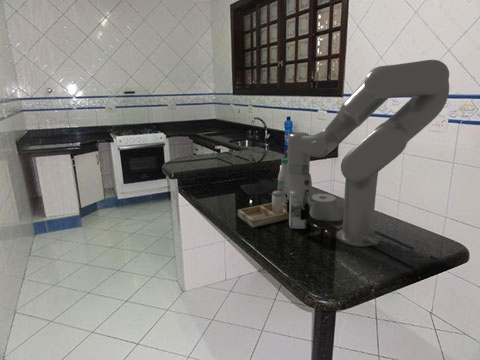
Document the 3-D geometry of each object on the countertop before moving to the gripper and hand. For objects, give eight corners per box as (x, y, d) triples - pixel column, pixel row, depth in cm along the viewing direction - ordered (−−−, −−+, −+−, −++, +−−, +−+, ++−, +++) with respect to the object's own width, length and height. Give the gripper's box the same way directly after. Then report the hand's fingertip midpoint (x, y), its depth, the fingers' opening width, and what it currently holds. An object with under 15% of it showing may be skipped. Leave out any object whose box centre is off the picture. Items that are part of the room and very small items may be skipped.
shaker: (285, 214, 130) (285, 192, 127) (275, 216, 128) (275, 194, 125) (279, 211, 133) (279, 189, 131) (270, 213, 132) (270, 191, 129)
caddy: (298, 219, 127) (298, 210, 126) (253, 229, 119) (252, 220, 118) (279, 208, 139) (279, 201, 138) (237, 218, 130) (237, 209, 129)
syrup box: (304, 224, 122) (305, 187, 118) (306, 231, 117) (307, 192, 113) (288, 224, 123) (289, 187, 119) (290, 231, 117) (290, 192, 113)
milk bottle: (294, 199, 150) (295, 156, 144) (295, 205, 142) (296, 160, 137) (277, 199, 150) (277, 156, 145) (277, 205, 143) (277, 160, 138)
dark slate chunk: (237, 188, 169) (237, 180, 168) (275, 183, 177) (275, 175, 175) (248, 197, 156) (247, 188, 154) (289, 191, 163) (289, 182, 161)
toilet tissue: (345, 224, 121) (347, 202, 119) (309, 221, 125) (310, 200, 122) (344, 215, 130) (345, 194, 127) (310, 213, 133) (311, 193, 131)
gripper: (323, 172, 108) (321, 221, 112) (292, 162, 123) (292, 206, 128) (305, 175, 104) (303, 226, 109) (275, 164, 120) (275, 209, 124)
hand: (297, 215), depth 118 cm, fingers closed on syrup box, 7 cm apart
